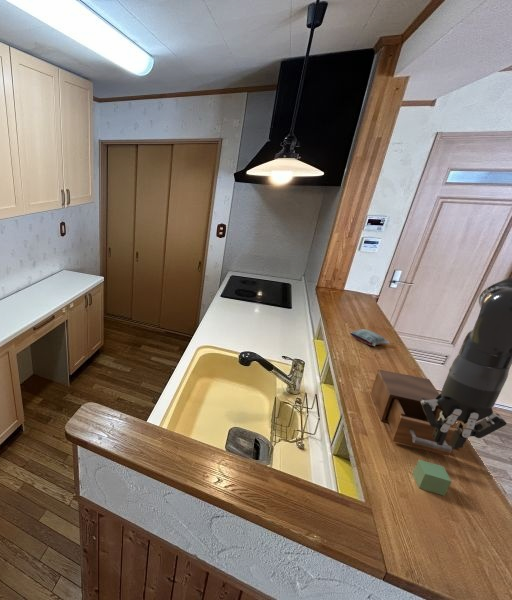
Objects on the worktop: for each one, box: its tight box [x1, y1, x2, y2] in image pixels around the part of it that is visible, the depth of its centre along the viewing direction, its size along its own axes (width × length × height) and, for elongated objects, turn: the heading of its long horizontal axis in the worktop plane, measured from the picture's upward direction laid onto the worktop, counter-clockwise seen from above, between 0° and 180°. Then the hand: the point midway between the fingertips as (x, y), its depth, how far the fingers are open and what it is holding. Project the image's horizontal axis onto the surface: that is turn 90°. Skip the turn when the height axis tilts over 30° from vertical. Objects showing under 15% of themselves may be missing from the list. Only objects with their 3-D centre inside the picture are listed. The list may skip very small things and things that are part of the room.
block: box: [412, 459, 452, 497], centre depth 75 cm, size 4×4×4 cm
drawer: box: [386, 397, 458, 457], centre depth 87 cm, size 18×11×8 cm, turn 153°
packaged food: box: [349, 328, 391, 347], centre depth 141 cm, size 9×12×5 cm
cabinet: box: [370, 369, 441, 424], centre depth 98 cm, size 15×13×10 cm
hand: (445, 444), depth 72 cm, fingers closed
